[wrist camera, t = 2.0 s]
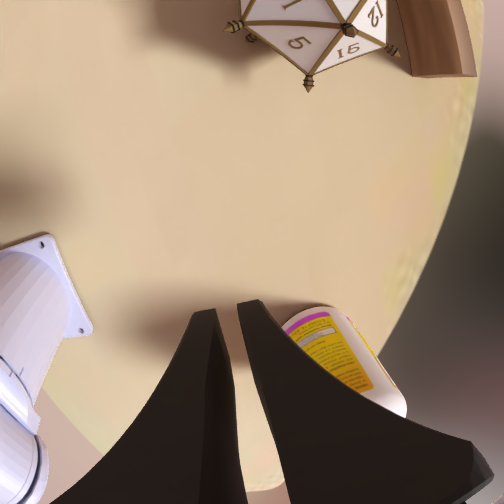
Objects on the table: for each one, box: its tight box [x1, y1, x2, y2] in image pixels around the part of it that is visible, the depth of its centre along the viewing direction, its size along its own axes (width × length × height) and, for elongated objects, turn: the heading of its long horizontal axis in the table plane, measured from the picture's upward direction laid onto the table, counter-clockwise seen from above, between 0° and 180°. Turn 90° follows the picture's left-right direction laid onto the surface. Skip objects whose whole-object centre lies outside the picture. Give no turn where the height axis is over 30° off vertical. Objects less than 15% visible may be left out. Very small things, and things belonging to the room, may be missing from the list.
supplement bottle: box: [281, 307, 407, 418], centre depth 18 cm, size 7×7×13 cm
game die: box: [223, 0, 401, 93], centre depth 10 cm, size 9×8×10 cm
